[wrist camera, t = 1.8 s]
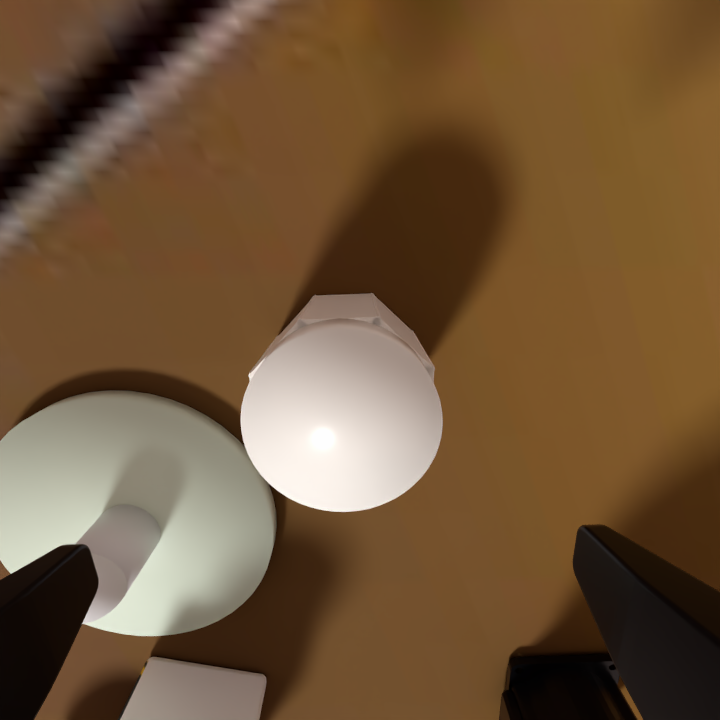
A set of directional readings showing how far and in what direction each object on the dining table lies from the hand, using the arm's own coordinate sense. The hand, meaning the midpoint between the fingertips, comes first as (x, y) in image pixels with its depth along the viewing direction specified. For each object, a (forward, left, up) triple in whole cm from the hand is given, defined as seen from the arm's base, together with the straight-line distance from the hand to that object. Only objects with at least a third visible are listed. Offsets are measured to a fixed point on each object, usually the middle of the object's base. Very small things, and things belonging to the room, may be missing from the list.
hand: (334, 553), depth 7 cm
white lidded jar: (0, 0, -11) cm, 11 cm away
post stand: (+11, +8, -11) cm, 18 cm away
